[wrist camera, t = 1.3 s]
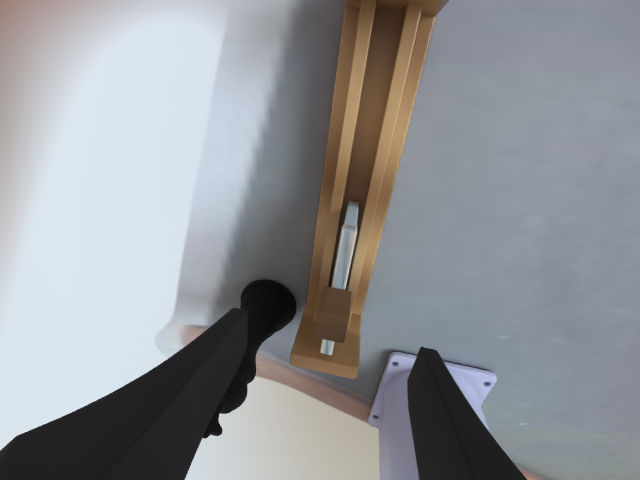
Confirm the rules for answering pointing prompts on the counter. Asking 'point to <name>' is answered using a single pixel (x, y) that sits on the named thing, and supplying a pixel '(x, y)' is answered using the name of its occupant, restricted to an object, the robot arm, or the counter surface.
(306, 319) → the window frame
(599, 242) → the counter surface
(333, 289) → the pane
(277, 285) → the chess piece
